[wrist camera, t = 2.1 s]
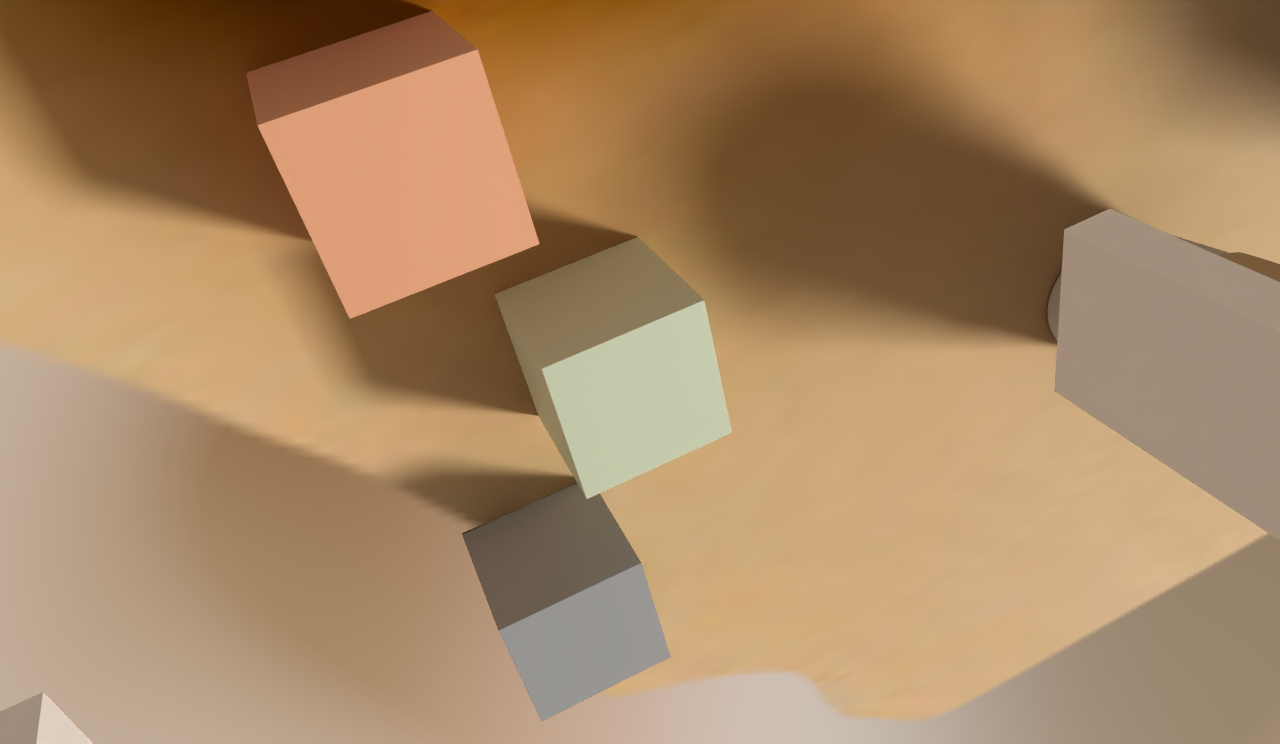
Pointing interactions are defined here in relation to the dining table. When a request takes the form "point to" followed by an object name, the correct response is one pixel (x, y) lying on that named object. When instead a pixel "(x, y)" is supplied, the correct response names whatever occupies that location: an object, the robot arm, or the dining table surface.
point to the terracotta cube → (394, 159)
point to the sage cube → (617, 363)
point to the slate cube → (567, 598)
